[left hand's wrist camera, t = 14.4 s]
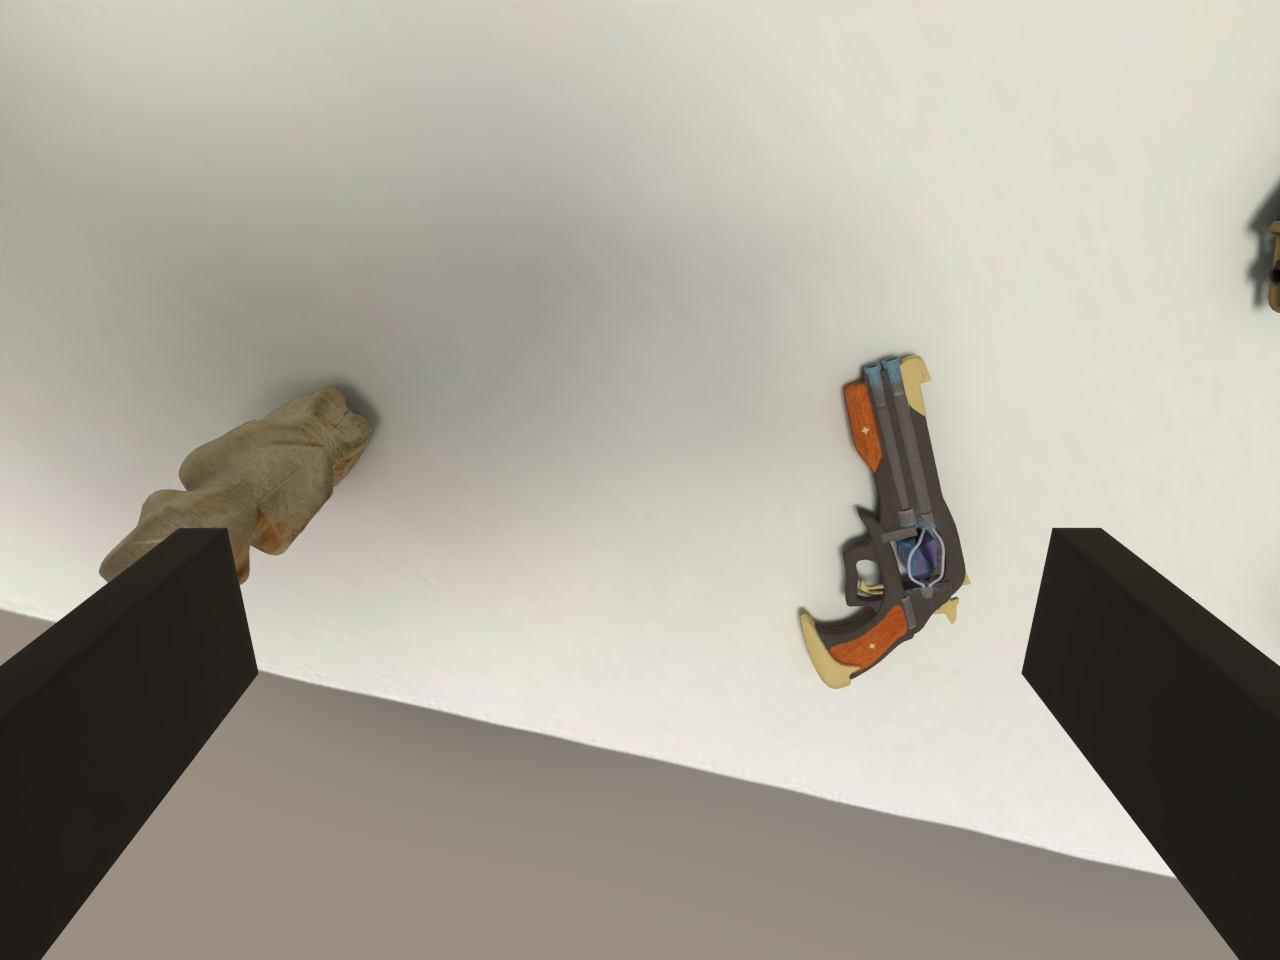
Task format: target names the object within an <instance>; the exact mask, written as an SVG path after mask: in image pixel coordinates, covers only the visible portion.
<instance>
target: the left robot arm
mask: <svg viewBox="0 0 1280 960" xmlns="http://www.w3.org/2000/svg"><path fill="white" fill-rule="evenodd" d="M257 675H258V669H257V664H256V660H255V655H254V650H253V646H252V641H251V636H250V632H249V627H248V622H247V618H246V613H245V608H244V604H243V599H242V594H241V590H240V585H239V580H238V576H237V571H236V566H235V561H234V557H233V552H232V547H231V543H230V538H229V533H228V529H227V528H178V529H177V530H176V531H175V532H173V533H172V534H171V535H169V536H168V537H167V538H166V539H164V540H163V541H162V542H160V543H159V544H158V545H156V546H155V547H154V548H153V549H151V550H150V551H149V552H147V553H146V554H145V555H144V556H142V557H141V558H140V559H138V560H137V561H136V562H134V563H133V564H132V565H131V566H129V567H128V568H127V569H125V570H124V571H123V572H122V573H120V574H119V575H118V576H116V577H115V578H114V579H112V580H111V581H110V582H109V583H107V584H106V585H105V586H103V587H102V588H101V589H100V590H98V591H97V592H96V593H94V594H93V595H92V596H91V597H89V598H88V599H87V600H85V601H84V602H83V603H81V604H80V605H79V606H78V607H76V608H75V609H74V610H72V611H71V612H70V613H69V614H67V615H66V616H65V617H63V618H62V619H61V620H59V621H58V622H57V623H56V624H54V625H53V626H52V627H50V628H49V629H48V630H47V631H45V632H44V633H43V634H41V635H40V636H39V637H37V638H36V639H35V640H34V641H32V642H31V643H30V644H28V645H27V646H26V647H25V648H23V649H22V650H21V651H19V652H18V653H17V654H16V655H14V656H13V657H12V658H10V659H9V660H8V661H6V662H5V663H4V664H3V665H1V666H0V960H41V959H42V957H43V956H44V955H45V953H46V952H47V951H48V949H49V948H50V947H51V945H52V944H53V943H54V942H55V940H56V939H57V938H58V936H59V935H60V934H61V932H62V931H63V930H64V928H65V927H66V926H67V924H68V923H69V922H70V921H71V919H72V918H73V917H74V915H75V914H76V913H77V911H78V910H79V909H80V907H81V906H82V905H83V903H84V902H85V901H86V900H87V898H88V897H89V896H90V894H91V893H92V892H93V890H94V889H95V888H96V886H97V885H98V884H99V882H100V881H101V880H102V878H103V877H104V876H105V875H106V873H107V872H108V871H109V869H110V868H111V867H112V865H113V864H114V863H115V861H116V860H117V859H118V857H119V856H120V855H121V853H122V852H123V851H124V850H125V848H126V847H127V846H128V844H129V843H130V842H131V840H132V839H133V838H134V836H135V835H136V834H137V832H138V831H139V830H140V829H141V827H142V826H143V825H144V823H145V822H146V821H147V819H148V818H149V817H150V815H151V814H152V813H153V811H154V810H155V809H156V807H157V806H158V805H159V804H160V802H161V801H162V800H163V798H164V797H165V796H166V794H167V793H168V792H169V790H170V789H171V788H172V786H173V785H174V784H175V783H176V781H177V780H178V779H179V777H180V776H181V775H182V773H183V772H184V771H185V769H186V768H187V767H188V765H189V764H190V763H191V761H192V760H193V759H194V758H195V756H196V755H197V754H198V752H199V751H200V750H201V748H202V747H203V746H204V744H205V743H206V742H207V740H208V739H209V738H210V736H211V735H212V734H213V733H214V731H215V730H216V729H217V727H218V726H219V725H220V723H221V722H222V721H223V719H224V718H225V717H226V715H227V714H228V713H229V712H230V710H231V709H232V708H233V706H234V705H235V704H236V702H237V701H238V700H239V698H240V697H241V696H242V694H243V693H244V692H245V690H246V689H247V688H248V687H249V685H250V684H251V683H252V681H253V680H254V679H255V677H256V676H257ZM1022 675H1023V676H1024V677H1025V679H1026V680H1027V681H1028V683H1029V684H1030V685H1031V687H1032V688H1033V689H1034V690H1035V692H1036V693H1037V694H1038V696H1039V697H1040V698H1041V700H1042V701H1043V702H1044V704H1045V705H1046V706H1047V708H1048V709H1049V710H1050V712H1051V713H1052V714H1053V715H1054V717H1055V718H1056V719H1057V721H1058V722H1059V723H1060V725H1061V726H1062V727H1063V729H1064V730H1065V731H1066V733H1067V734H1068V735H1069V736H1070V738H1071V739H1072V740H1073V742H1074V743H1075V744H1076V746H1077V747H1078V748H1079V750H1080V751H1081V752H1082V754H1083V755H1084V756H1085V758H1086V759H1087V760H1088V761H1089V763H1090V764H1091V765H1092V767H1093V768H1094V769H1095V771H1096V772H1097V773H1098V775H1099V776H1100V777H1101V779H1102V780H1103V781H1104V783H1105V784H1106V785H1107V786H1108V788H1109V789H1110V790H1111V792H1112V793H1113V794H1114V796H1115V797H1116V798H1117V800H1118V801H1119V802H1120V804H1121V805H1122V806H1123V807H1124V809H1125V810H1126V811H1127V813H1128V814H1129V815H1130V817H1131V818H1132V819H1133V821H1134V822H1135V823H1136V825H1137V826H1138V827H1139V829H1140V830H1141V831H1142V832H1143V834H1144V835H1145V836H1146V838H1147V839H1148V840H1149V842H1150V843H1151V844H1152V846H1153V847H1154V848H1155V850H1156V851H1157V852H1158V854H1159V855H1160V856H1161V857H1162V859H1163V860H1164V861H1165V863H1166V864H1167V865H1168V867H1169V868H1170V869H1171V871H1172V872H1173V873H1174V875H1175V876H1176V877H1177V878H1178V880H1179V881H1180V882H1181V884H1182V885H1183V886H1184V888H1185V889H1186V890H1187V892H1188V893H1189V894H1190V896H1191V897H1192V898H1193V900H1194V901H1195V902H1196V903H1197V905H1198V906H1199V907H1200V909H1201V910H1202V911H1203V913H1204V914H1205V915H1206V917H1207V918H1208V919H1209V921H1210V922H1211V923H1212V924H1213V926H1214V927H1215V928H1216V930H1217V931H1218V932H1219V934H1220V935H1221V936H1222V938H1223V939H1224V940H1225V942H1226V943H1227V944H1228V945H1229V947H1230V948H1231V949H1232V951H1233V952H1234V953H1235V955H1236V956H1237V957H1238V959H1239V960H1280V666H1279V665H1277V664H1276V663H1275V662H1274V661H1272V660H1271V659H1270V658H1268V657H1267V656H1266V655H1265V654H1263V653H1262V652H1261V651H1259V650H1258V649H1257V648H1255V647H1254V646H1253V645H1252V644H1250V643H1249V642H1248V641H1246V640H1245V639H1244V638H1243V637H1241V636H1240V635H1239V634H1237V633H1236V632H1235V631H1233V630H1232V629H1231V628H1230V627H1228V626H1227V625H1226V624H1224V623H1223V622H1222V621H1221V620H1219V619H1218V618H1217V617H1215V616H1214V615H1213V614H1211V613H1210V612H1209V611H1208V610H1206V609H1205V608H1204V607H1202V606H1201V605H1200V604H1199V603H1197V602H1196V601H1195V600H1193V599H1192V598H1191V597H1189V596H1188V595H1187V594H1186V593H1184V592H1183V591H1182V590H1180V589H1179V588H1178V587H1177V586H1175V585H1174V584H1173V583H1171V582H1170V581H1169V580H1167V579H1166V578H1165V577H1164V576H1162V575H1161V574H1160V573H1158V572H1157V571H1156V570H1155V569H1153V568H1152V567H1151V566H1149V565H1148V564H1147V563H1146V562H1144V561H1143V560H1142V559H1140V558H1139V557H1138V556H1136V555H1135V554H1134V553H1133V552H1131V551H1130V550H1129V549H1127V548H1126V547H1125V546H1124V545H1122V544H1121V543H1120V542H1118V541H1117V540H1116V539H1114V538H1113V537H1112V536H1111V535H1109V534H1108V533H1107V532H1105V531H1104V530H1103V529H1102V528H1053V529H1052V533H1051V538H1050V543H1049V547H1048V552H1047V557H1046V561H1045V566H1044V571H1043V576H1042V580H1041V585H1040V590H1039V594H1038V599H1037V604H1036V608H1035V613H1034V618H1033V622H1032V627H1031V632H1030V636H1029V641H1028V646H1027V650H1026V655H1025V660H1024V664H1023V669H1022Z"/></svg>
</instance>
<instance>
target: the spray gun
mask: <svg viewBox="0 0 1280 960" xmlns="http://www.w3.org/2000/svg"><path fill="white" fill-rule="evenodd" d="M1267 231H1268V232H1269V233H1270V234H1272V235H1273V236H1275V237H1276V242H1275V250H1274V258H1273V266H1272V270H1271V272H1270V280H1271V282H1270V290H1269V305H1270V306H1271V308H1272V309H1273V310H1274V311H1276V312H1278V313H1280V296H1279V295H1280V215H1279V216H1278V217H1277V221H1273V223H1272V224H1271V225H1270V227H1269V228H1268V230H1267Z"/></svg>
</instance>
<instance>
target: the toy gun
mask: <svg viewBox="0 0 1280 960" xmlns="http://www.w3.org/2000/svg"><path fill="white" fill-rule="evenodd" d="M881 363H882V367H883V368H882V367H881V364H879V363H876V364H871V365H868V366H866V367H864V368H863V369H864V373H862V374H863V379H864V380H863V381H859V382H856V383H852V384H849V385H848V386H846V387H845V388H844V392H845V398H846V403H847V409H848V414H849V419H850V424H851V429H852V433H853V438H854V443H855V446H856V449H857V451H858V453H859V455H860V456H861V457H862V459H863V460H864V461H865V462H866V464H867V465H868V466H869V467H870V469H871V470H872V471H873V472H874V476H875V480H876V484H877V488H878V492H879V500H880V509H879V516H878V517H877V516H876V515H874V514H872V513H870V512H868V511H866V510H863V509H860V508H858V509H857V510H858V513H859V516H860V518H861V520H862V521H863V522H864V524H865V525H866V527H867V528H868V530H869V532H870V535H871V536H870V537H869V538H868V539H867V540H865V541H861V542H856V543H854V544H852V545H850V546H849V547H848V548H847V549H846V550H845V552H844V554H843V558H844V562H845V566H846V571H847V586H846V595H845V598H846V603H847V605H848V606H868V607H871V608H873V609H872V610H871V611H870V612H868V613H867V614H866V615H864V616H863V617H861V618H860V619H858V620H856V621H855V622H853V623H851V624H848V625H845V626H834V627H826V626H821V625H819V624H816V623H815V621H814V620H813V619H812V617H811V616H810V615H809V614H803V615H801V616H800V620H801V625H802V629H803V633H804V637H805V641H806V644H807V648H808V651H809V654H810V657H811V660H812V662H813V665H814V667H815V669H816V671H817V673H818V675H819V676H820V678H821V679H822V681H823V682H824V683H825V684H826V685H827V686H829V687H831V688H833V689H838V688H842V687H846V686H848V685H850V683H851V679H853V678H855V677H857V676H859V675H860V674H862V673H864V672H866V671H867V670H869V669H870V668H872V667H873V666H875V665H876V664H877V663H879V662H880V661H881V660H882V659H884V658H885V657H886V656H887V655H888V654H889V653H890V652H891V651H892V650H893V649H895V648H896V647H897V646H898V645H899V644H901V643H902V642H904V641H907V640H909V639H912V638H913V636H914V634H916V633H917V632H919V631H920V630H921V629H922V628H923V627H924V625H925V624H926V622H927V621H928V619H929V618H930V616H931V615H932V614H933V613H934V614H938V613H944V614H946V616H947V617H948V619H949V621H950V622H951V624H953V623H954V621H955V620H956V606H957V605H958V602H959V599H958V597H954V598H951V596H952V595H953V594H954V593H955V592H956V591H957V590H958V589H959V588H960V587H961V586H962V585H966V584H970V580H969V578H968V576H967V573H966V571H965V564H964V559H963V554H962V549H961V545H960V540H959V536H958V532H957V529H956V525H955V523H954V520H953V518H952V515H951V513H950V511H949V509H948V507H947V505H946V503H945V501H944V499H943V496H942V492H941V488H940V483H939V478H938V474H937V469H936V464H935V460H934V455H933V450H932V446H931V441H930V437H929V432H928V427H927V422H926V414H925V408H924V403H923V398H922V393H921V388H920V383H923V382H927V381H930V380H931V378H930V376H929V373H928V371H927V368H926V366H925V363H924V361H923V359H922V358H921V357H920V356H919V357H917V356H916V355H912V356H908V357H905V358H903V359H901V360H900V357H898V356H896V357H890V358H886V359H884V360H882V361H881ZM920 528H922V529H920ZM934 528H936V529H937V531H938V533H939V534H938V533H937V532H936V531H935V529H934ZM927 529H932V531H933V532H934V534H935V535H936V536H937V538H938V539H939V541H940V543H941V547H942V563H941V574H940V575H935V576H932V574H933V572H934V570H935V568H936V566H937V564H938V562H939V560H940V555H939V552H938V549H937V546H936V543H935V540H934V539H933V537H932V536H931V534H930V533H929V532H928V530H927ZM895 540H896V542H897V544H898V547H899V549H898V555H899V558H900V561H901V563H902V565H903V566H904V567H905V569H906V570H907V571H908V575H909V578H910V579H911V580H912V581H907V582H903V583H902V580H901V576H900V571H899V568H898V564H897V561H896V557H895V554H894V552H893V549H892V546H891V544H890V541H895ZM901 554H902V556H901ZM902 557H903V559H904V561H903V559H902ZM865 559H866V560H870V561H874V562H876V563H878V564H879V567H880V571H881V575H882V580H883V584H878V585H871V586H868V585H866V584H865V582H864V580H863V579H861V581H860V585H859V588H860V590H862V591H864V592H867V593H870V594H881V595H877V596H872V597H864V596H860V595H857V584H858V573H857V568H856V563H857V562H858V561H860V560H865ZM904 562H905V563H904ZM913 577H914V578H917V579H916V580H915V579H914V578H913ZM881 588H882V590H880V591H870V589H881ZM950 598H951V599H950Z"/></svg>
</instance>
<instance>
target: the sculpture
mask: <svg viewBox="0 0 1280 960" xmlns="http://www.w3.org/2000/svg"><path fill="white" fill-rule="evenodd" d="M346 401H347V399H346V398H345V396H344V395H343V394H342V393H341V392H339V391H338V390H337V389H336V388H335V387H334V386H332V385H329V386H326V387H324V388H323V389H321V390H319V391H318V392H314V393H310V394H307V395H304V396H302V397H299V398H297V399H294V400H292V401H291V402H289V403H287V404H285V405H283V406H282V407H280V408H278V409H276V410H275V411H273V412H272V413H270V414H269V415H268V416H267V417H266V418H264V419H263V420H254V421H250V422H247V423H245V424H243V425H241V426H239V427H237V428H235V429H233V430H231V431H229V432H228V433H226V434H224V435H223V436H221V437H219V438H217V439H215V440H213V441H210V442H208V443H206V444H204V445H202V446H200V447H199V448H197V449H195V450H194V451H193V452H191V453H190V454H189V455H188V457H187V458H186V459H185V460H184V462H183V463H182V465H181V467H180V471H179V478H180V480H181V482H182V484H183V485H184V487H185V488H186V490H187V491H178V490H160V491H157V492H154V493H153V494H152V495H150V496H149V497H148V499H147V500H146V501H145V503H144V504H143V506H142V511H141V515H140V519H139V522H138V525H137V527H136V528H135V529H134V530H133V531H132V532H131V533H130V534H129V535H128V536H126V537H125V538H124V539H123V540H122V541H121V542H120V543H119V544H118V545H117V546H116V547H115V548H114V549H113V550H112V551H111V552H110V553H109V554H108V555H107V556H106V557H105V559H104V560H103V562H102V564H101V566H100V570H99V574H100V576H101V577H103V578H104V579H105V580H106V581H107V582H108V583H109V582H110V581H111V580H112V579H114V578H115V577H116V576H118V575H119V574H120V573H122V572H123V571H124V570H125V569H127V568H128V567H129V566H131V565H132V564H133V563H134V562H136V561H137V560H138V559H140V558H141V557H142V556H144V555H145V554H146V553H147V552H149V551H150V550H151V549H153V548H154V547H155V546H156V545H158V544H159V543H160V542H162V541H163V540H164V539H166V538H167V537H168V536H169V535H171V534H172V533H173V532H175V531H176V530H177V529H178V528H227V529H228V533H229V538H230V543H231V547H232V552H233V557H234V561H235V566H236V571H237V576H238V580H239V585H241V584H243V583H244V582H245V581H246V580H247V578H248V576H249V570H250V566H249V549H250V545H251V546H253V547H255V548H257V549H258V550H260V551H262V552H264V553H267V554H270V555H280V554H282V553H283V552H285V551H286V550H287V549H288V547H289V546H290V545H291V543H292V542H293V541H294V540H295V538H296V537H297V536H298V535H299V534H300V533H301V532H302V531H303V530H304V528H305V527H306V525H307V524H308V523H309V521H310V520H311V519H312V518H313V516H314V515H315V514H316V513H317V512H318V511H319V510H320V509H321V507H322V506H323V505H324V503H325V502H326V501H327V500H328V499H329V498H330V497H331V495H332V493H333V487H335V486H336V485H337V484H338V483H339V482H340V481H341V480H342V479H343V478H344V477H345V476H346V475H347V474H348V473H349V471H350V470H351V469H352V468H353V466H354V465H355V463H356V462H357V460H358V459H359V457H360V456H361V454H362V452H363V450H364V448H365V446H366V444H367V442H368V441H369V439H370V438H371V436H372V434H373V428H372V427H371V425H370V424H369V423H368V421H367V420H366V419H365V418H364V417H363V416H362V415H360V414H353V413H352V412H351V411H350V410H349V409H348V408H347V407H346Z"/></svg>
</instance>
